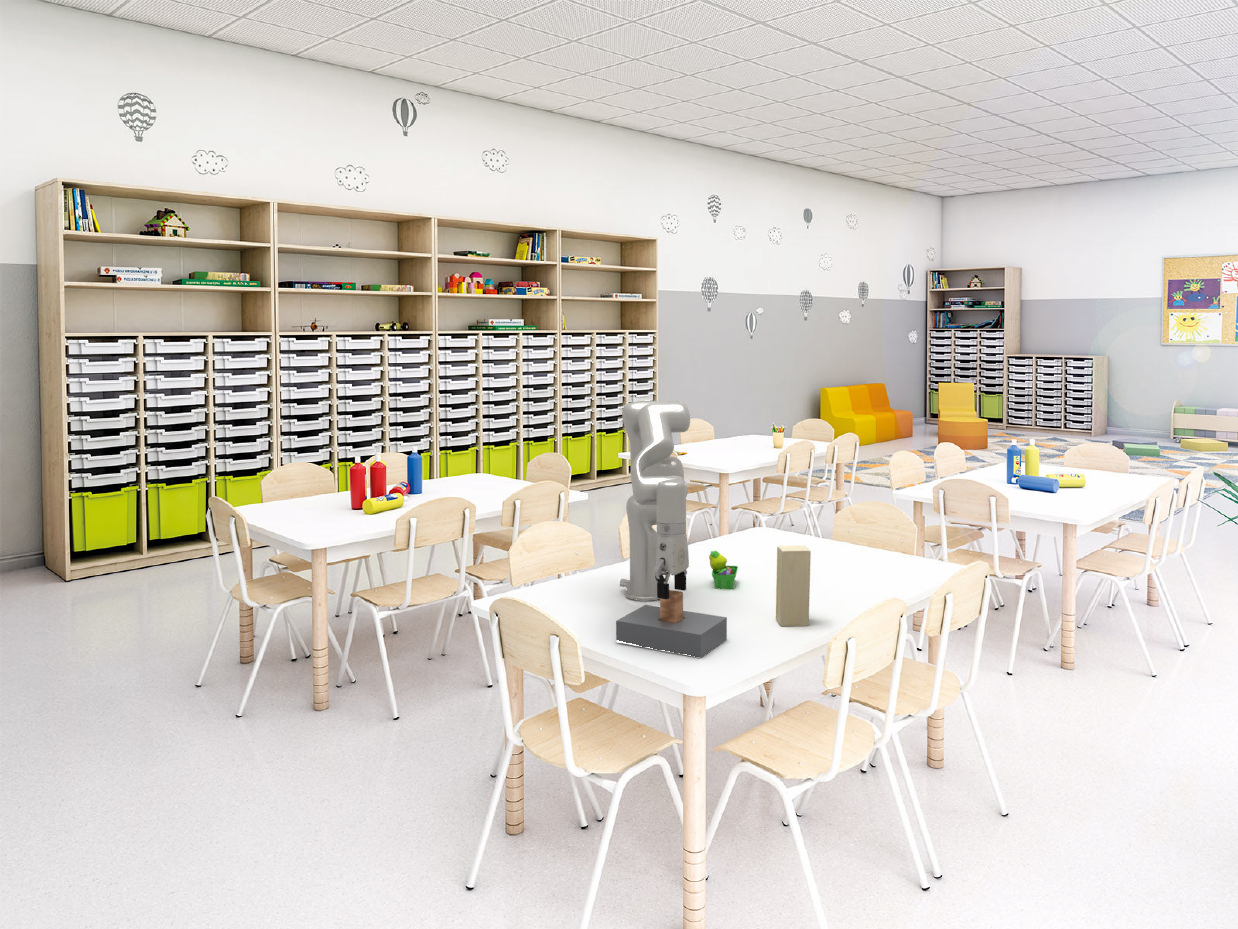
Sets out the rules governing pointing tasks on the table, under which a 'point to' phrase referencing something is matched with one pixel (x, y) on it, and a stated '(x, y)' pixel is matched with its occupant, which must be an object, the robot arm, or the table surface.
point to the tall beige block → (793, 585)
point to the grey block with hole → (672, 631)
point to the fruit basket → (722, 571)
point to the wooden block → (672, 607)
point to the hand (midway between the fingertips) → (671, 594)
